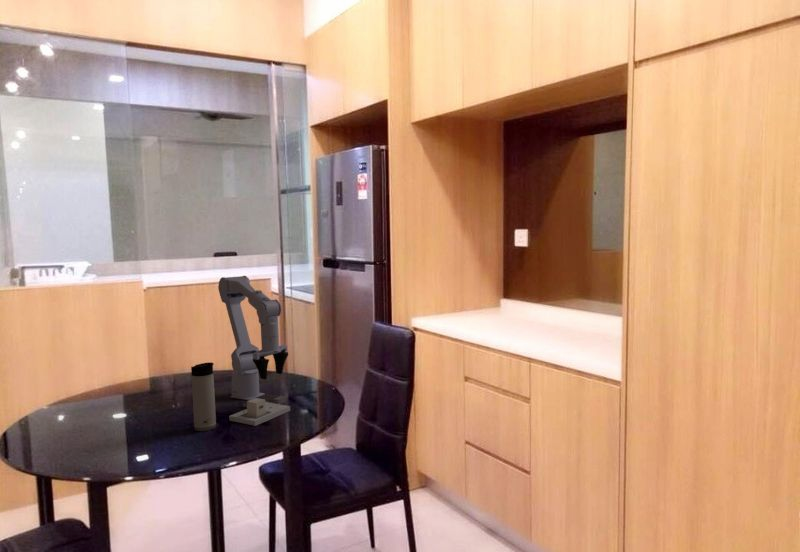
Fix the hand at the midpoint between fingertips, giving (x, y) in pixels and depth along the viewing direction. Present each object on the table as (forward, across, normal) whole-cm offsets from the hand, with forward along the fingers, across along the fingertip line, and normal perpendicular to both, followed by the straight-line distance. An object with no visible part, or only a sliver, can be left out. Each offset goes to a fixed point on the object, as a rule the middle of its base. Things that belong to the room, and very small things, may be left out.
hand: (271, 376), depth 188 cm
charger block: (+10, -12, -4) cm, 17 cm away
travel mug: (+11, -25, +4) cm, 27 cm away
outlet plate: (+10, -9, -3) cm, 14 cm away
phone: (+10, +1, +6) cm, 12 cm away
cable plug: (+11, +1, +1) cm, 11 cm away
